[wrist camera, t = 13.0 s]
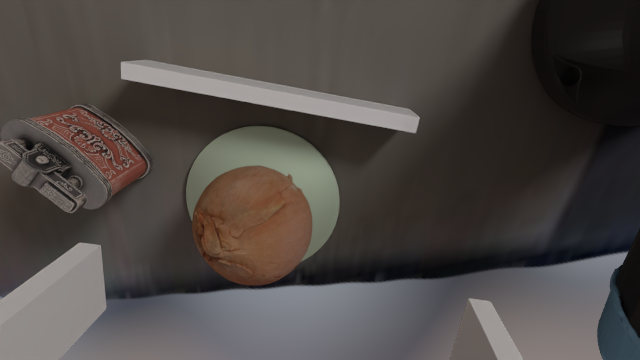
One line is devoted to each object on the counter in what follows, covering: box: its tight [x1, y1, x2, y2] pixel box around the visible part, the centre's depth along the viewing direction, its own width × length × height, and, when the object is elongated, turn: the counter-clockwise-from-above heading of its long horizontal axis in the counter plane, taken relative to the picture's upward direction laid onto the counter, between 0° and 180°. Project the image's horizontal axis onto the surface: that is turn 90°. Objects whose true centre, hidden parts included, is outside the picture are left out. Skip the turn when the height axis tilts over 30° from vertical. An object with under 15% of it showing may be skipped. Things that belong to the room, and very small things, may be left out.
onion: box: [192, 165, 312, 285], centre depth 30 cm, size 10×9×10 cm
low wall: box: [121, 60, 420, 133], centre depth 29 cm, size 22×1×4 cm, turn 80°
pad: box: [186, 126, 339, 261], centre depth 34 cm, size 14×14×1 cm
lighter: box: [0, 104, 154, 213], centre depth 28 cm, size 8×3×10 cm, turn 46°
